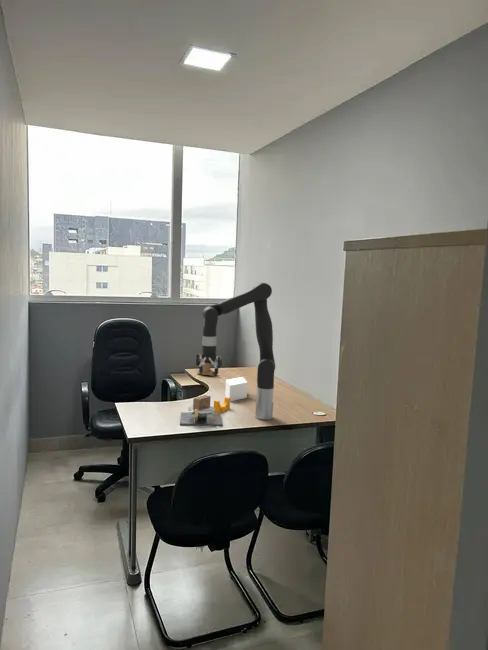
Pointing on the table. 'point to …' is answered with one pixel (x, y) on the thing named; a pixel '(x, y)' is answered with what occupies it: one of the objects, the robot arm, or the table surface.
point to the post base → (201, 419)
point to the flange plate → (203, 412)
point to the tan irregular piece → (206, 369)
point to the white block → (236, 388)
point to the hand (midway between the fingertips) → (208, 374)
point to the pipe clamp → (222, 407)
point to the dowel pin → (196, 415)
